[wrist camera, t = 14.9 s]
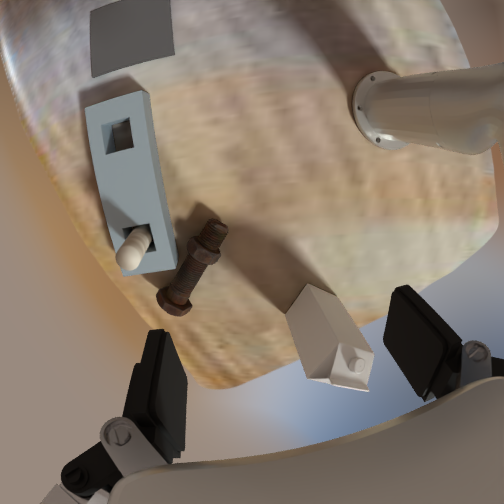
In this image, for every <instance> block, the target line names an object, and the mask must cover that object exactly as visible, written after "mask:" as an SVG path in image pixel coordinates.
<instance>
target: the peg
mask: <svg viewBox="0 0 504 504" xmlns="http://www.w3.org/2000/svg"><path fill="white" fill-rule="evenodd" d="M152 239H153V235H152V231H151V227H150V223H148V224H143V225H137V226H136V227H135V228H134V230H133V231H132V232H131V233H130V235H129V236H128V237H127V239H126V240H125V241H124V243H123V244H122V245H121V247H120V248H119V250H118V251H117V253H116V262H117V264H118V265H119V266H120V267H121V268H122V269H124V270H128V271H131V270H134V269H136V268H137V267H138V265H139V263H140V262H141V260H142V258H143V256H144V254H145V252H146V250H147V248H148V246H149V244H150V243H151V241H152Z"/></svg>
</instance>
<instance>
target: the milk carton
mask: <svg viewBox="0 0 504 504" xmlns="http://www.w3.org/2000/svg"><path fill="white" fill-rule="evenodd" d="M285 317H286V320H287V323H288V326H289V328H290V331H291V334H292V337H293V340H294V343H295V345H296V348H297V351H298V354H299V357H300V360H301V363H302V366H303V368H304V371H305V374H306V377H307V379H310V380H314V381H319V382H324V383H329V384H332V385H334V386H339V387H344V388H350V389H356V390H361V391H368V392H369V389H368V387H367V383H368V379H369V375H370V371H371V367H372V363H373V359H374V353H373V351H372V350H371V348H370V346H369V345H368V343H367V341H366V340H365V338H364V337H363V335H362V333H361V332H360V330H359V329H358V327H357V326H356V324H355V322H354V321H353V319H352V318H351V316H350V315H349V313H348V312H347V310H346V309H345V307H344V305H343V304H342V302H341V301H340V299H339V298H338V297H337V296H335V295H332V294H330V293H328V292H326V291H324V290H322V289H319V288H317V287H315V286H313V285H311V284H308V283H307V285H306V286H305V287H304V289H303V290H302V292H301V293H300V295H299V296H298V297H297V299H296V300H295V302H294V303H293V304H292V306H291V307H290V309H289V310H288V311H287V313H286V314H285Z"/></svg>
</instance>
